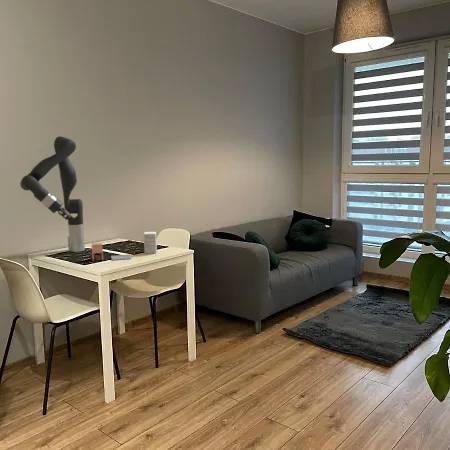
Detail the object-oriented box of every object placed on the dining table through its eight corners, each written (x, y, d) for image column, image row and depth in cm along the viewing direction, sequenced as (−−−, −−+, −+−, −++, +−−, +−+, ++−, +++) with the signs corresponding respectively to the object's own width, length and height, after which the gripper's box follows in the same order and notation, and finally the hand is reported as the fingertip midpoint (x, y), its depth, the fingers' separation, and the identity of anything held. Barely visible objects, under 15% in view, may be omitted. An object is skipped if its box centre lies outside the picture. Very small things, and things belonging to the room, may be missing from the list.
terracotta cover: (92, 261, 263) (91, 244, 261) (92, 258, 268) (91, 243, 267) (103, 260, 264) (102, 244, 263) (103, 258, 270) (102, 242, 268)
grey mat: (111, 260, 263) (111, 259, 263) (111, 256, 273) (111, 255, 273) (131, 259, 266) (131, 258, 266) (129, 255, 276) (129, 254, 276)
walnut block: (95, 260, 264) (94, 255, 264) (95, 259, 267) (94, 254, 267) (100, 260, 265) (100, 255, 265) (100, 259, 268) (100, 254, 268)
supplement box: (145, 251, 287) (144, 231, 285) (157, 251, 288) (156, 231, 286) (144, 254, 280) (143, 233, 278) (156, 253, 280) (155, 233, 279)
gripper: (55, 198, 249) (79, 218, 253) (57, 197, 262) (79, 216, 267) (46, 209, 248) (69, 228, 253) (48, 206, 261) (70, 225, 266)
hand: (74, 222), depth 260 cm, fingers open, 8 cm apart
